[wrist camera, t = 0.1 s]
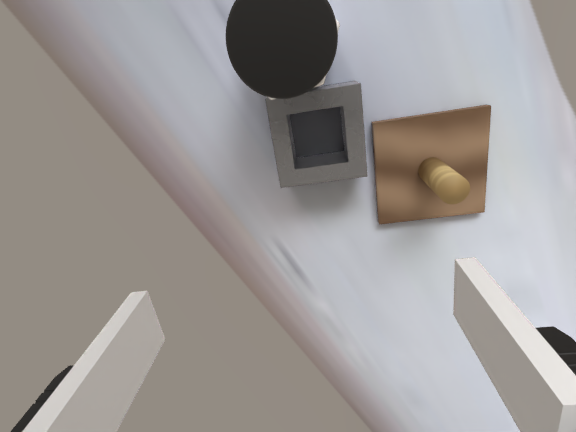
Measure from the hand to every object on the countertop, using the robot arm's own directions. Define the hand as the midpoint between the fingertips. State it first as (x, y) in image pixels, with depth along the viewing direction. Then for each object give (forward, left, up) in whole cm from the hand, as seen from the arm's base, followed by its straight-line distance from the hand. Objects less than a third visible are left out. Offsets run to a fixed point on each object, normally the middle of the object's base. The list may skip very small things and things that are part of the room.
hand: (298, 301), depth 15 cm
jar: (-11, 0, -28) cm, 30 cm away
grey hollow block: (-2, +2, -28) cm, 28 cm away
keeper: (+4, +14, -28) cm, 31 cm away
